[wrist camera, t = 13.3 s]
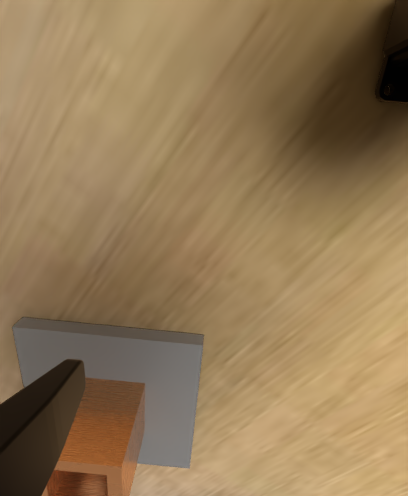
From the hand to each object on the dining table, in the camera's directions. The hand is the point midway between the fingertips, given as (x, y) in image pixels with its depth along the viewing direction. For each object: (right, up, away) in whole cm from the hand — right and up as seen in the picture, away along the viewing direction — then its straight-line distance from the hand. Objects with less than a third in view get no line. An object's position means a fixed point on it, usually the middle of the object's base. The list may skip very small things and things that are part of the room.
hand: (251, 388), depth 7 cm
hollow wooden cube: (-9, -9, +16) cm, 20 cm away
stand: (-9, -9, +17) cm, 21 cm away
